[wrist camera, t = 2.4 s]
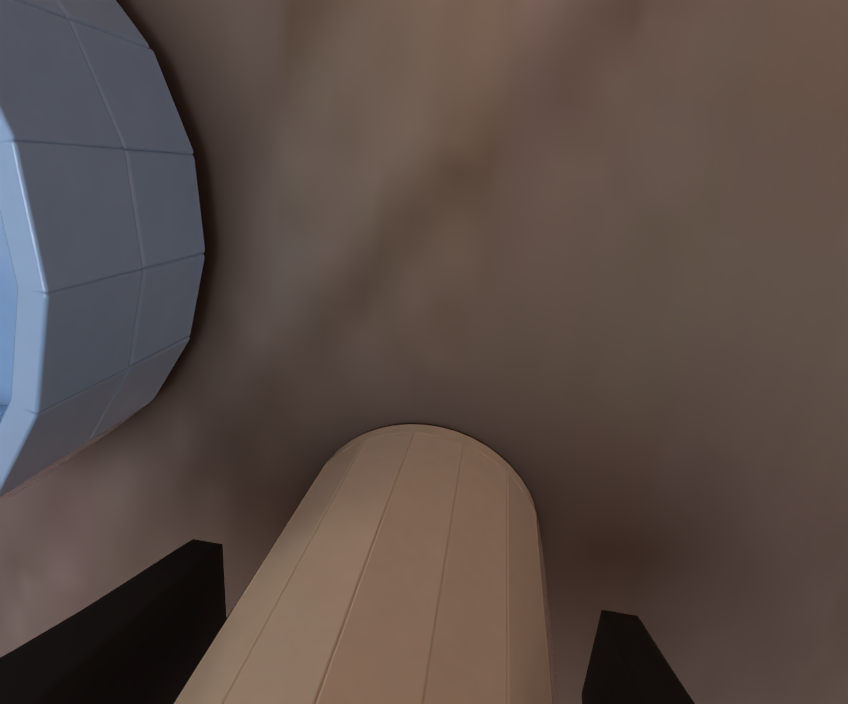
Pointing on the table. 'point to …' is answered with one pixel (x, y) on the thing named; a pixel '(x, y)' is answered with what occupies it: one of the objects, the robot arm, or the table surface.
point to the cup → (394, 586)
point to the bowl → (87, 231)
